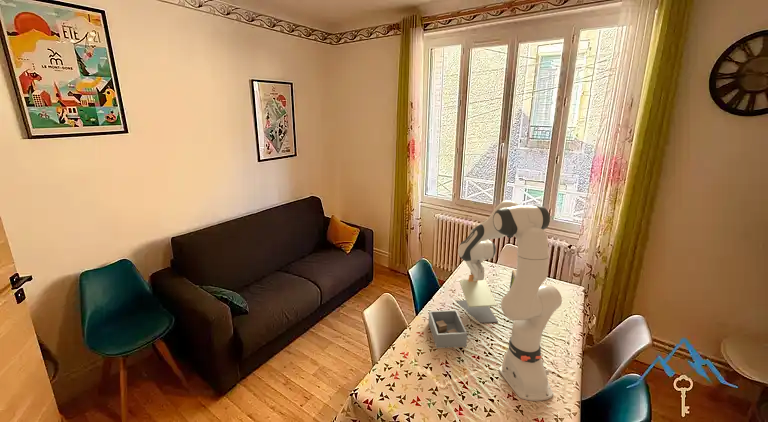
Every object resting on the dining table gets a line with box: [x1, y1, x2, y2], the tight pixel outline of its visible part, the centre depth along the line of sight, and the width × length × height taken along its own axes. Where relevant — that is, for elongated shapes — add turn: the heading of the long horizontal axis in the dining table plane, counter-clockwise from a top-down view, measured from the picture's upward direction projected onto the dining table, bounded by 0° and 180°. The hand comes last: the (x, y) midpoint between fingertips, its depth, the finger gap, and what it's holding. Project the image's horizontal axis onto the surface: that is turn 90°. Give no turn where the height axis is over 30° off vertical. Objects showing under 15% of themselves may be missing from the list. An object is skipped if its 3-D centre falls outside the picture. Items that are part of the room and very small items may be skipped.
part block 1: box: [436, 320, 447, 334], centre depth 166 cm, size 4×4×4 cm
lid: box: [458, 274, 498, 308], centre depth 180 cm, size 19×15×6 cm
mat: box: [456, 299, 499, 324], centre depth 183 cm, size 20×16×1 cm
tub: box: [428, 309, 468, 349], centre depth 163 cm, size 18×14×8 cm
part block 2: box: [447, 329, 458, 333], centre depth 160 cm, size 4×4×4 cm
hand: (473, 279), depth 186 cm, fingers closed on lid
